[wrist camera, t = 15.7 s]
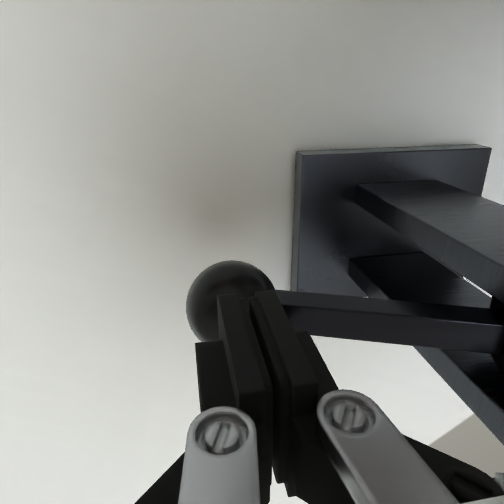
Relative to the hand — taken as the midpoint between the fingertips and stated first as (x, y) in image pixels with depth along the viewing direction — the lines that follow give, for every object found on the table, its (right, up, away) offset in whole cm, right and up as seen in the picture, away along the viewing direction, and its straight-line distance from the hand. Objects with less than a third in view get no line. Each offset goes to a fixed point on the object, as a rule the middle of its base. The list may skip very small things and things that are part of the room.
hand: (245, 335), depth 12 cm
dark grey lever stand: (+7, +4, +10) cm, 13 cm away
